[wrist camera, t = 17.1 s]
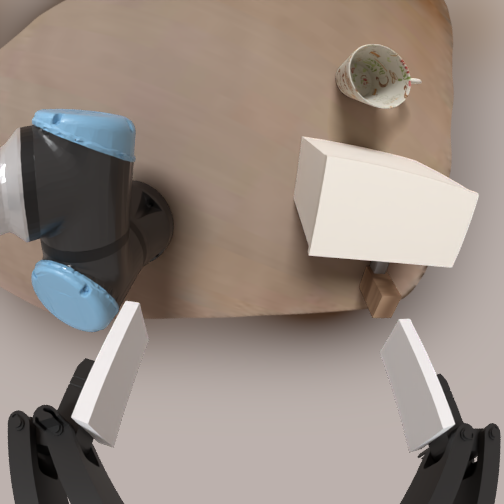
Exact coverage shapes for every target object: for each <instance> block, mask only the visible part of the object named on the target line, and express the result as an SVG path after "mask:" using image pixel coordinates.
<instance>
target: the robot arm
mask: <svg viewBox="0 0 504 504" xmlns="http://www.w3.org/2000/svg"><path fill="white" fill-rule="evenodd" d="M32 124H34V125H32V126H27V127H22V128H17V129H16V130H15V132H14V133H13V134H12V136H11V137H10V138H9V140H8V141H7V142H6V144H5V145H3V146H2V147H0V235H3V234H6V233H9V232H10V233H13V234H15V235H16V236H18V237H19V238H21V239H22V240H24V241H25V242H30V241H33V240H36V239H40V240H41V246H42V251H43V259H42V260H40V261H39V262H37V263H36V265H35V269H34V270H33V272H32V285H33V288H34V290H35V293H36V294H37V296H38V298H39V299H40V301H41V302H42V303H43V305H44V306H45V307H46V308H47V309H48V310H49V311H50V312H51V313H52V314H53V315H54V316H56V317H57V318H58V319H59V320H61V321H62V322H64V323H66V324H67V325H69V326H71V327H73V328H76V329H79V330H82V331H87V332H96V331H99V330H103V329H105V328H106V327H107V326H108V325H109V323H110V322H111V320H112V319H113V318H114V317H115V315H116V314H117V313H118V311H119V308H120V306H121V304H122V302H123V300H124V298H125V296H126V295H127V293H128V291H129V289H130V288H131V286H132V284H133V282H134V280H135V279H136V277H137V275H138V274H139V272H140V270H141V269H142V267H143V266H145V265H146V264H148V263H149V262H151V261H153V260H155V259H156V258H158V257H159V256H160V255H161V254H162V253H163V252H164V250H165V249H166V247H167V246H168V244H169V242H170V240H171V237H172V234H173V217H172V214H171V211H170V208H169V206H168V204H167V203H166V201H165V200H164V198H163V197H162V196H161V195H160V194H159V193H158V192H157V191H156V190H155V189H153V188H152V187H150V186H149V185H147V184H145V183H142V182H138V181H132V175H133V165H134V162H135V159H136V158H135V156H134V147H135V135H136V130H135V126H134V124H133V123H132V121H131V120H129V119H128V118H126V117H124V116H120V115H115V114H110V113H104V112H96V111H86V110H74V109H49V110H46V109H43V110H39V111H37V112H36V113H35V116H34V118H33V119H32ZM148 342H149V337H148V334H147V330H146V326H145V323H144V319H143V315H142V311H141V306H140V303H137V302H131V301H125V303H124V305H123V307H122V309H121V311H120V312H119V314H118V316H117V318H116V320H115V322H114V324H113V326H112V328H111V330H110V332H109V334H108V336H107V338H106V340H105V342H104V344H103V346H102V348H101V350H100V352H99V354H98V356H97V358H96V360H95V361H93V360H89V359H86V358H85V359H84V361H82V362H81V363H80V364H79V365H78V367H77V369H76V371H75V373H74V375H73V377H72V379H71V381H70V384H69V385H68V388H67V390H66V392H65V394H64V397H63V399H62V401H61V404H60V406H59V408H58V410H56V409H55V408H53V407H52V406H49V405H42V406H40V407H38V408H37V409H36V411H35V412H34V415H33V417H28V416H27V415H26V414H25V413H24V412H22V411H15V412H13V413H12V414H11V415H10V417H9V420H8V450H9V465H10V475H11V482H12V488H13V495H14V500H15V504H69V502H68V499H69V501H70V503H71V504H124V503H123V501H122V500H121V498H120V496H119V495H118V493H117V491H116V489H115V488H114V486H113V484H112V482H111V480H110V479H109V477H108V475H107V473H106V471H105V469H104V467H103V465H102V463H101V461H100V459H99V457H98V455H97V452H96V450H95V448H94V446H93V444H92V442H93V439H95V440H96V441H97V442H99V443H101V444H104V445H107V446H110V447H114V445H115V441H116V438H117V434H118V431H119V427H120V424H121V421H122V417H123V414H124V411H125V408H126V405H127V401H128V398H129V395H130V392H131V389H132V386H133V383H134V381H135V378H136V375H137V372H138V369H139V366H140V363H141V361H142V358H143V355H144V352H145V350H146V347H147V344H148ZM380 355H381V358H382V361H383V364H384V367H385V369H386V372H387V376H388V379H389V382H390V385H391V388H392V391H393V394H394V398H395V400H396V404H397V408H398V411H399V415H400V418H401V422H402V426H403V429H404V433H405V437H406V441H407V445H408V450H409V452H413V451H416V450H419V449H422V448H423V447H425V446H426V445H429V448H428V449H426V450H425V451H423V452H422V453H420V454H419V456H418V458H420V457H421V456H423V455H424V454H425V455H424V457H422V459H423V460H422V462H421V464H420V466H419V468H418V471H417V473H416V475H415V477H414V479H413V481H412V483H411V485H410V487H409V489H408V490H407V492H406V494H405V496H404V498H403V500H402V501H401V503H400V504H494V502H495V497H496V491H497V483H498V475H499V462H500V430H499V428H498V426H497V425H496V424H493V423H492V424H489V425H488V426H486V427H485V428H484V429H473V428H472V426H470V425H469V424H466V423H463V421H462V418H461V416H460V413H459V411H458V408H457V405H456V403H455V401H454V398H453V395H452V392H451V391H450V388H449V385H448V383H447V381H446V379H445V378H444V377H443V376H442V375H441V374H438V375H436V373H435V371H434V369H433V366H432V364H431V362H430V359H429V357H428V355H427V353H426V351H425V349H424V346H423V344H422V342H421V340H420V338H419V336H418V334H417V332H416V330H415V328H414V326H413V324H412V322H411V320H410V319H399V320H398V322H397V323H396V325H395V327H394V329H393V331H392V332H391V334H390V336H389V338H388V340H387V341H386V343H385V345H384V346H383V348H382V349H381V351H380ZM477 456H478V457H477ZM476 457H477V462H474V458H476ZM67 497H68V498H67Z"/></svg>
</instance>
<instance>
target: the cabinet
mask: <svg viewBox="0 0 504 504" xmlns="http://www.w3.org/2000/svg"><path fill="white" fill-rule="evenodd" d="M478 197H479V194H478V193H476V192H474V191H471V190H468V189H467V188H465V187H463V186H462V185H460V184H458V183H456V182H455V181H453V180H451V179H450V178H448V177H446V176H444V175H443V174H441V173H439V172H437V171H435V170H433V169H431V168H429V167H427V166H426V165H424V164H422V163H420V162H418V161H416V160H412V159H409V158H405V157H402V156H398V155H394V154H390V153H386V152H382V151H378V150H373V149H369V148H364V147H360V146H355V145H350V144H345V143H339V142H334V141H328V140H322V139H316V138H309V137H302V139H301V147H300V155H299V163H298V170H297V178H296V185H295V192H294V201H295V204H296V207H297V210H298V214H299V217H300V220H301V223H302V226H303V229H304V232H305V236H306V239H307V242H308V245H309V248H308V254H309V256H321V257H333V258H345V259H357V260H369V261H381V262H393V263H405V264H417V265H429V266H441V267H453V264H454V262H455V260H456V257H457V255H458V253H459V250H460V248H461V245H462V243H463V240H464V237H465V235H466V232H467V230H468V226H469V224H470V222H471V219H472V216H473V213H474V210H475V207H476V203H477V200H478Z"/></svg>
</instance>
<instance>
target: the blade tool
mask: <svg viewBox="0 0 504 504" xmlns="http://www.w3.org/2000/svg"><path fill="white" fill-rule="evenodd" d="M388 265H389V262H381V261H372V262H371V265H370V266H366V269H365V272H364V274H363V277H362V280H361V283H360V286H359V288H360V290H361V292H362V294H363V297H364V299H365V301H366V304H367V306H368V308H369V311H370V313H371V316H372V318H391V317H392V315H393V313H394V311H395V309H396V307H397V305H398V303H399V301H400V299H401V295H400V293H399V291H398V290H397V288H396V286H395V285H394V283H393V281H392V279H391V278H390V276H389V274H388V273H387V271H386V270H387V267H388Z"/></svg>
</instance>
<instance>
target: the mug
mask: <svg viewBox="0 0 504 504" xmlns="http://www.w3.org/2000/svg"><path fill="white" fill-rule="evenodd" d="M336 83H337V86H338V88H339V89H340V90H341V92H342V93H343V94H345V95H346V96H348V97H350V98H352V99H355V100H358V101H360V102H363V103H366V104H368V105H371V106H373V107H377V108H382V109H389V108H394V107H396V106H398V105H400V104H401V103H403V102H404V101H405V99H406V98H407V96H408V94H409V92H410V87H411V84H420V83H421V80H420V79H415V78H410V73H409V70H408V68H407V66H406V64H405V62H404V61H403V60H402V58H401V57H400V56H399V55H398V54H397V53H396V52H394V51H393V50H391V49H390V48H388V47H385V46H382V45H378V44H368V45H364V46H362V47H360V48H358V49H357V50H355V51H354V52H353V53H352V54H351V55H350V56H349V57H348V58H347V60H346V61H345V62H344V63H343V64H342V65H341V66H340V67H339V69H338V70H337V73H336Z"/></svg>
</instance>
